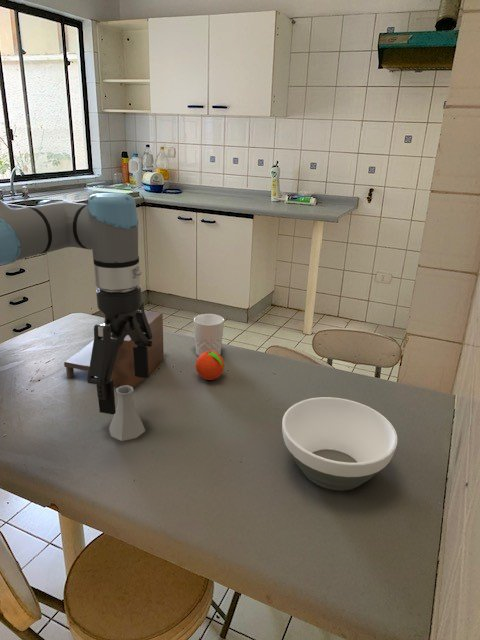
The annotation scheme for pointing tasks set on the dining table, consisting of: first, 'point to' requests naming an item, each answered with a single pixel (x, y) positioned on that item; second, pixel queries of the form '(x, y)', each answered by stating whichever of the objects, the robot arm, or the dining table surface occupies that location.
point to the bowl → (338, 440)
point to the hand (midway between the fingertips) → (125, 393)
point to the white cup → (208, 333)
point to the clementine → (210, 365)
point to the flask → (126, 416)
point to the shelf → (125, 355)
